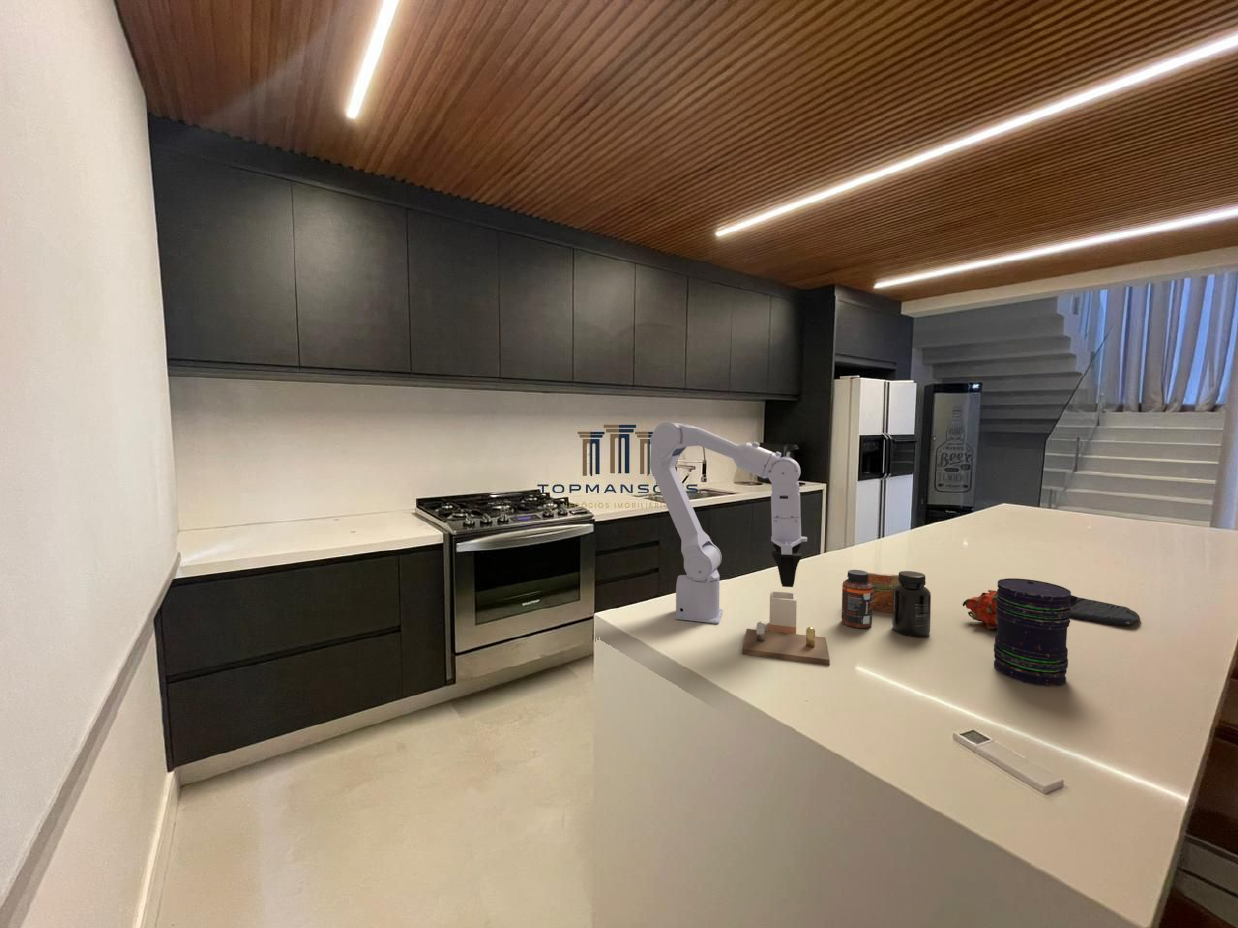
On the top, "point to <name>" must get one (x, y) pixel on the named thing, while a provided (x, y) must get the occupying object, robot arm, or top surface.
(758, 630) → the steel pin
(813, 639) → the brass pin
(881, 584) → the tin
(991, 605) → the dragon fruit
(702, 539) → the robot arm
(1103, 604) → the dark slate chunk
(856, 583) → the supplement bottle
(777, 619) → the sleeve
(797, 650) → the board
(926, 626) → the supplement bottle
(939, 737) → the top surface
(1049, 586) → the dark blue cylinder
